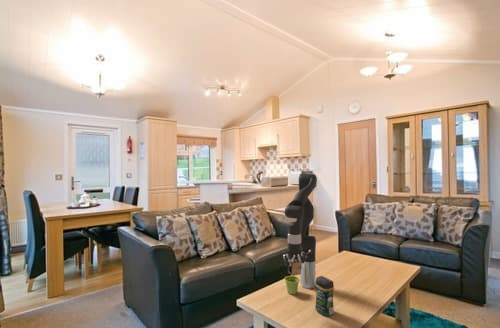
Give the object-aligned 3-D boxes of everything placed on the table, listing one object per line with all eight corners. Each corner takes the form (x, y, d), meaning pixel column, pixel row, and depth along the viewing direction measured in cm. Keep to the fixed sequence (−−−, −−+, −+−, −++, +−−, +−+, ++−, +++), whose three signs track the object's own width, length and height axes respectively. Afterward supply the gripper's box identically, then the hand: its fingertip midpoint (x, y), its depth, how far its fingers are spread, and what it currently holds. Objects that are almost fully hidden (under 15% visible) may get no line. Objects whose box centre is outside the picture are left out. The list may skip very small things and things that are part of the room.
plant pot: (292, 297, 165) (292, 283, 165) (281, 291, 172) (281, 278, 172) (302, 293, 170) (302, 279, 170) (292, 287, 178) (292, 274, 178)
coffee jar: (312, 309, 151) (312, 276, 151) (323, 305, 155) (323, 273, 155) (325, 318, 143) (325, 283, 143) (336, 314, 147) (336, 280, 147)
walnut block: (288, 272, 152) (288, 260, 152) (296, 270, 154) (296, 258, 154) (293, 275, 148) (292, 263, 148) (300, 274, 150) (300, 261, 149)
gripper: (301, 238, 157) (301, 267, 157) (279, 241, 151) (279, 271, 152) (309, 241, 150) (309, 272, 150) (286, 245, 145) (286, 276, 145)
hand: (294, 271), depth 151 cm, fingers closed on walnut block, 5 cm apart
